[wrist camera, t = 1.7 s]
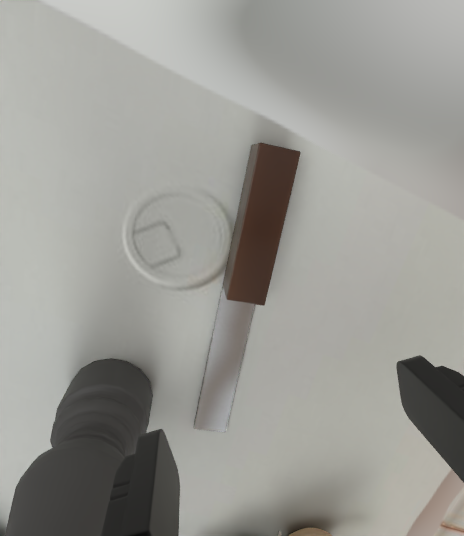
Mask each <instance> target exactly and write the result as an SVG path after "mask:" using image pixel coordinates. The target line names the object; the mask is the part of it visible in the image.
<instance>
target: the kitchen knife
mask: <svg viewBox="0 0 464 536" xmlns="http://www.w3.org/2000/svg"><path fill="white" fill-rule="evenodd" d="M299 157H300V151H295V150H291V149H286V148H282V147H278V146H273V145H269V144H264V143H257V144H254V145H252V146H251V150H250V155H249V160H248V165H247V169H246V174H245V179H244V184H243V189H242V194H241V199H240V204H239V208H238V213H237V218H236V223H235V228H234V233H233V238H232V243H231V247H230V252H229V257H228V262H227V267H226V272H225V277H224V282H223V287H222V291H221V296H220V301H219V306H218V310H217V315H216V320H215V325H214V330H213V335H212V340H211V345H210V349H209V354H208V359H207V364H206V369H205V374H204V379H203V384H202V389H201V393H200V398H199V403H198V408H197V413H196V418H195V423H194V429H199V430H209V431H219V432H226V429H227V424H228V420H229V416H230V411H231V407H232V403H233V398H234V394H235V390H236V385H237V381H238V377H239V372H240V368H241V363H242V359H243V355H244V350H245V346H246V342H247V337H248V333H249V329H250V324H251V320H252V316H253V311H254V307H255V304H257V305H265V301H266V297H267V292H268V288H269V284H270V280H271V276H272V271H273V267H274V263H275V259H276V254H277V250H278V246H279V242H280V238H281V233H282V229H283V225H284V221H285V216H286V212H287V208H288V204H289V199H290V195H291V191H292V187H293V183H294V178H295V174H296V170H297V166H298V161H299Z"/></svg>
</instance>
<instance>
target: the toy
mask: <svg viewBox="0 0 464 536" xmlns="http://www.w3.org/2000/svg"><path fill="white" fill-rule="evenodd" d="M278 536H281V531H279V534H278ZM288 536H332V535H331V534H330V533H328V532H326V531H324V530H322V529H318V528H304V529H300V530H298V531H296V532H294V533H292V534H290V535H288Z"/></svg>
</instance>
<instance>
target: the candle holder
mask: <svg viewBox="0 0 464 536" xmlns="http://www.w3.org/2000/svg"><path fill="white" fill-rule="evenodd" d="M152 397H153V394H152V389H151V385H150V381H149V380H148V378H147V377H146V376H145V374H144V373H143V372H142V370H141V369H139V368H137V367H136V366H134V365H132V364H131V363H129V362H127V361H121V360H116V359H105V360H99V361H94V362H92V363H91V364H89V365H87V366H85V367H84V368H82V369H81V370H80V371H79V372H78V374H77V375H76V376H75V377H74V379H73V380H72V382H71V383H70V385H69V387H68V389H67V391H66V393H65V395H64V397H63V399H62V400H61V402H60V404H59V406H58V408H57V413H56V418H55V422H54V424H53V429H52V434H51V439H50V441H51V444H52V447H53V448H52V449H50V450H48V451H46V452H45V453H43V454H41V455H40V456H39V457H38V458H37V459H36V460H35V461H34V462H33V463H32V464H31V466H30V467H29V468H28V469H27V471H26V472H25V473H24V475H23V476H22V477H21V479H20V481H19V483H18V484H17V486H16V489H15V493H14V498H13V502H12V506H11V511H10V515H9V520H8V524H7V529H6V533H5V536H101V533H102V529H103V525H104V521H105V516H106V512H107V508H108V504H109V501H110V495H111V491H112V489H113V482H114V478H115V474H116V471H117V469H118V467H119V466H120V464H121V463H122V461H123V460H124V458H125V457H126V456H129V455H132V454H135V452H136V446H137V441H138V437H139V435H142V434H145V433H146V430H147V426H148V422H149V416H150V409H151V403H152Z"/></svg>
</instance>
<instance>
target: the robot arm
mask: <svg viewBox="0 0 464 536" xmlns="http://www.w3.org/2000/svg"><path fill="white" fill-rule="evenodd" d="M397 374H398V381H399V388H400V395H401V402H402V405H403V408H404V410H405V412H406V414H407V416H408V418H409V419H410V420H411V421H412V423H413V424H414V425H415V426H416V427H417V428H418V430H419V431H420V432H421V433H422V434H423V435H424V437H425V438H426V439H427V440H428V441H429V442H430V444H431V445H432V446H433V447H434V448H435V449H436V451H437V452H438V453H439V454H440V455H441V457H442V458H443V459H444V460H445V461H446V462H447V464H448V465H449V466H450V467H451V468H452V469H453V471H454V472H455V473H456V474H457V475H458V476H459V478H460V479H461V480H462V481H463V482H464V376H463V375H461V374H460V373H459V372H456V371H454V370H451V369H449V368H446V367H444V366H440V367H434V366H433V365H432V364H431V363H430V362H428V361H427V360H426V359H425V358H424V357H422V356H416V357H412V358H409V359H406V360H402V361H399V362H397ZM179 496H180V482H179V474H178V469H177V466H176V463H175V460H174V457H173V455H172V452H171V449H170V447H169V444H168V441H167V438H166V436H165V433H164V431H163V430H162V429H159V430H156V431H152V432H149V433H145V434H142V435H139V437H138V441H137V446H136V452H135V454H132V455H129V456H126V457H125V458H124V460H123V461H122V463H121V464H120V466H119V467H118V469H117V471H116V474H115V478H114V482H113V489H112V491H111V495H110V501H109V504H108V508H107V512H106V516H105V521H104V525H103V529H102V533H101V536H178V530H179Z"/></svg>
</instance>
